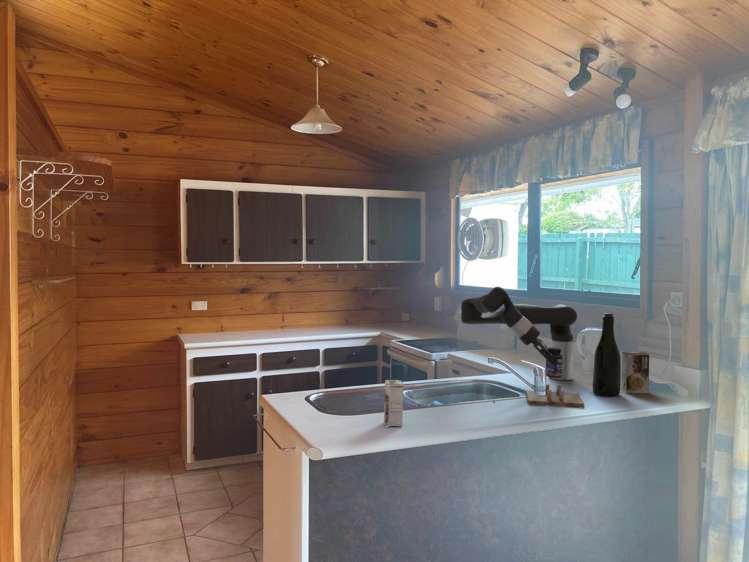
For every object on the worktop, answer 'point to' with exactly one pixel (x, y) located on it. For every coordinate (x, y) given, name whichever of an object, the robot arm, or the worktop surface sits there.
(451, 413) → the worktop surface
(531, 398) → the pin tray
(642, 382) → the coffee box
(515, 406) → the worktop surface
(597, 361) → the dark green wine bottle
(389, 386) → the syrup box
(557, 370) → the pill bottle
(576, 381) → the worktop surface
